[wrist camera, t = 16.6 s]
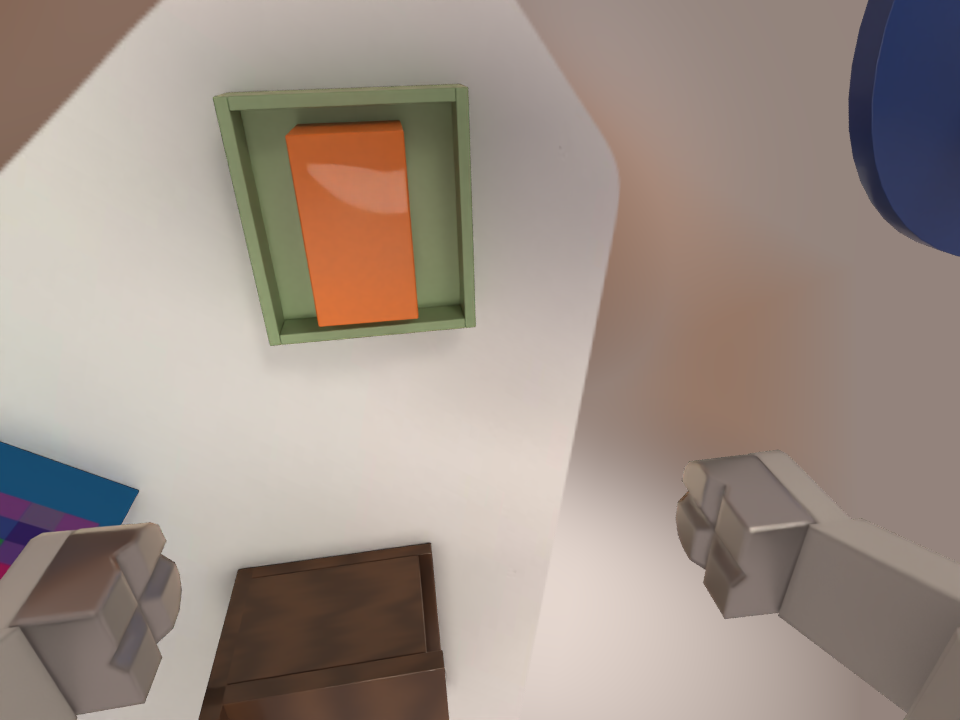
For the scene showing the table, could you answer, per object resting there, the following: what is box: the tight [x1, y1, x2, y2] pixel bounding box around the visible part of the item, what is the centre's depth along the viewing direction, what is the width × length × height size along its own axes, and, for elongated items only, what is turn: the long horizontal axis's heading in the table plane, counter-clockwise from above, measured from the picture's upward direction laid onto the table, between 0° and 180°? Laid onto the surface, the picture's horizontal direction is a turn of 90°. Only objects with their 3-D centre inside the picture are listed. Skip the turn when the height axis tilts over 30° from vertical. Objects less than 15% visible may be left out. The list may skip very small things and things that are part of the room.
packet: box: [285, 120, 419, 327], centre depth 28 cm, size 5×9×4 cm, turn 1°
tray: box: [213, 84, 476, 346], centre depth 29 cm, size 11×12×3 cm
